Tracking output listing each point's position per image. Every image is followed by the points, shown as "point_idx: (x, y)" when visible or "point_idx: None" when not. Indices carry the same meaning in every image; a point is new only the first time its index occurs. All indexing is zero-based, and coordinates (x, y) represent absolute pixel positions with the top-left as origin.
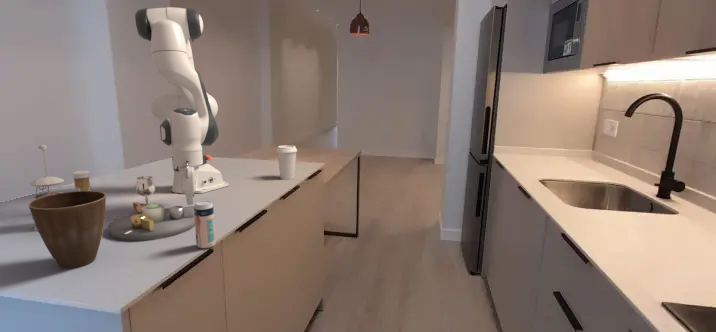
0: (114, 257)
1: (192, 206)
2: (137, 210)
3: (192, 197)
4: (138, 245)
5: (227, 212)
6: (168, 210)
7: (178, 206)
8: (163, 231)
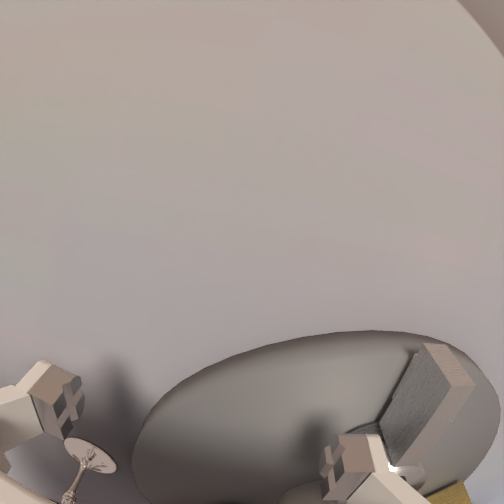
0: (484, 485)
1: (426, 427)
2: None
3: (407, 486)
4: None
5: (283, 59)
6: (179, 456)
7: None
8: (485, 453)
